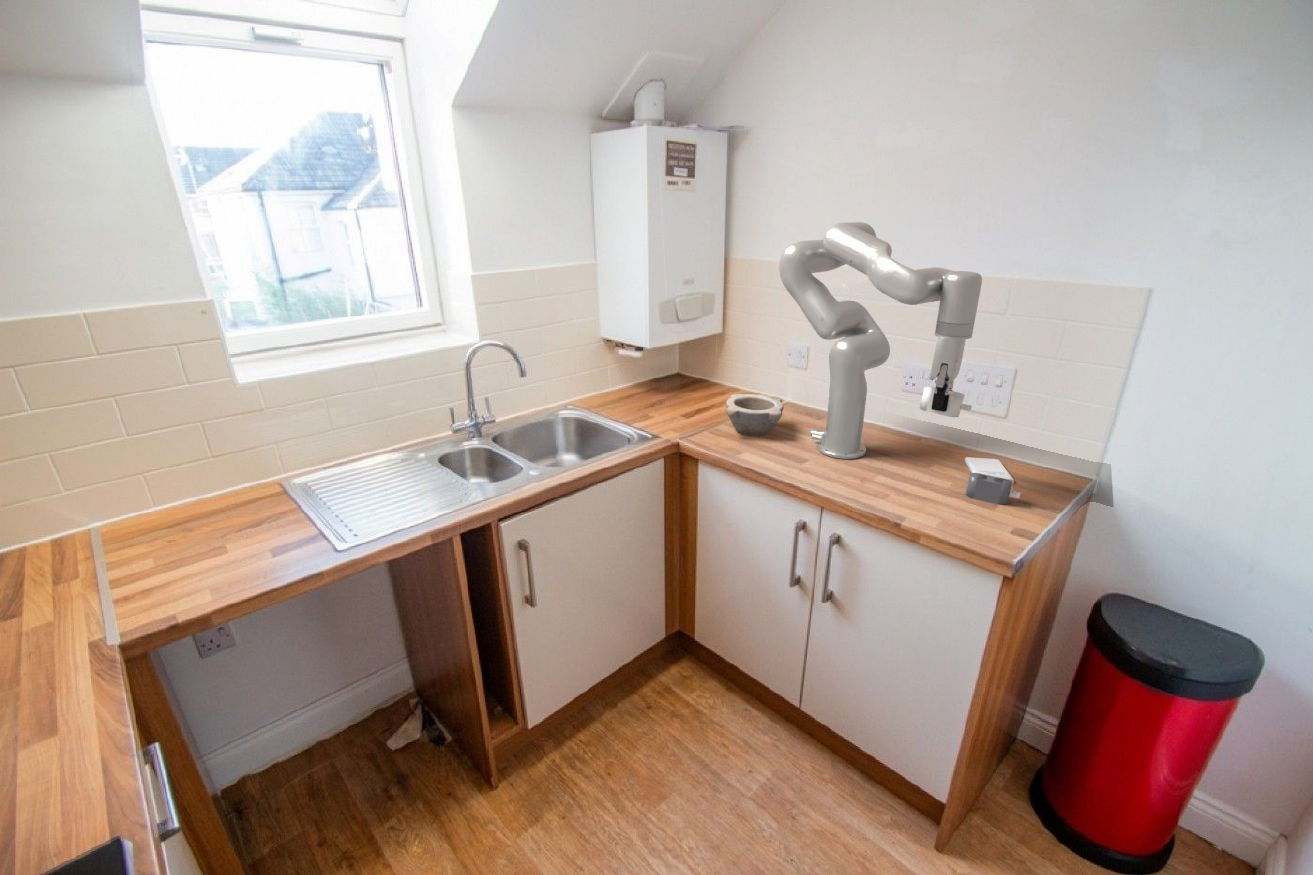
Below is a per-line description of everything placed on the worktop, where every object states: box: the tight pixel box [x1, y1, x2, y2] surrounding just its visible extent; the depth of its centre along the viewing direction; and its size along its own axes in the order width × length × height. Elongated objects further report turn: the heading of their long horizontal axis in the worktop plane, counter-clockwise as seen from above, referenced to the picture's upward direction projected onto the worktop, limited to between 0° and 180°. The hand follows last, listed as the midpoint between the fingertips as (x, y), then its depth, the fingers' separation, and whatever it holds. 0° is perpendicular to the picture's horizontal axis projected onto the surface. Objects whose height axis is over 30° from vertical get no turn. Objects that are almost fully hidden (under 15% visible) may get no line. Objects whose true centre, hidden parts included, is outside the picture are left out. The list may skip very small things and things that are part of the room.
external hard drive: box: [964, 456, 1015, 485], centre depth 151 cm, size 2×8×12 cm
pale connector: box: [919, 386, 973, 418], centre depth 139 cm, size 11×4×5 cm, turn 56°
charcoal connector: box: [965, 472, 1021, 506], centre depth 137 cm, size 11×4×5 cm, turn 56°
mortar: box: [725, 393, 785, 437], centre depth 179 cm, size 17×17×9 cm
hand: (940, 407), depth 140 cm, fingers closed on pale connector, 3 cm apart
